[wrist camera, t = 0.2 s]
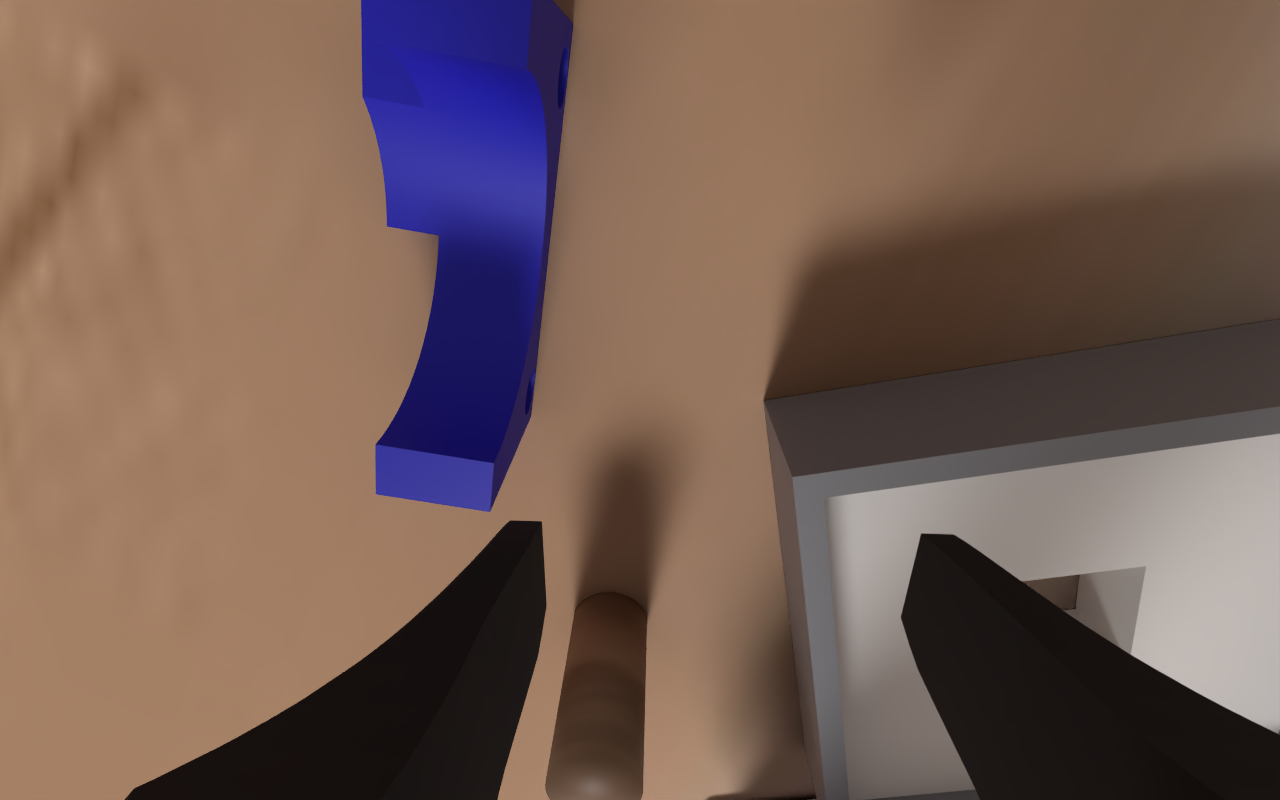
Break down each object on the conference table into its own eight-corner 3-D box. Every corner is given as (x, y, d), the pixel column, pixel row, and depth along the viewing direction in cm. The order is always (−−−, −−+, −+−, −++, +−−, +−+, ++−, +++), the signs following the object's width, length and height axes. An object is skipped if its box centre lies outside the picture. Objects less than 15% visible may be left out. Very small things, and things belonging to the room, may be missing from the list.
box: (1222, 706, 26) (1340, 828, 22) (804, 748, 28) (833, 870, 24) (1327, 311, 19) (1533, 369, 15) (763, 400, 21) (792, 477, 17)
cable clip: (409, -7, 17) (289, -70, 11) (573, 24, 17) (533, -22, 11) (403, 393, 22) (318, 485, 16) (532, 414, 22) (489, 511, 16)
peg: (652, 644, 26) (651, 815, 19) (582, 652, 26) (558, 823, 20) (639, 588, 25) (632, 750, 18) (566, 597, 25) (534, 760, 19)
